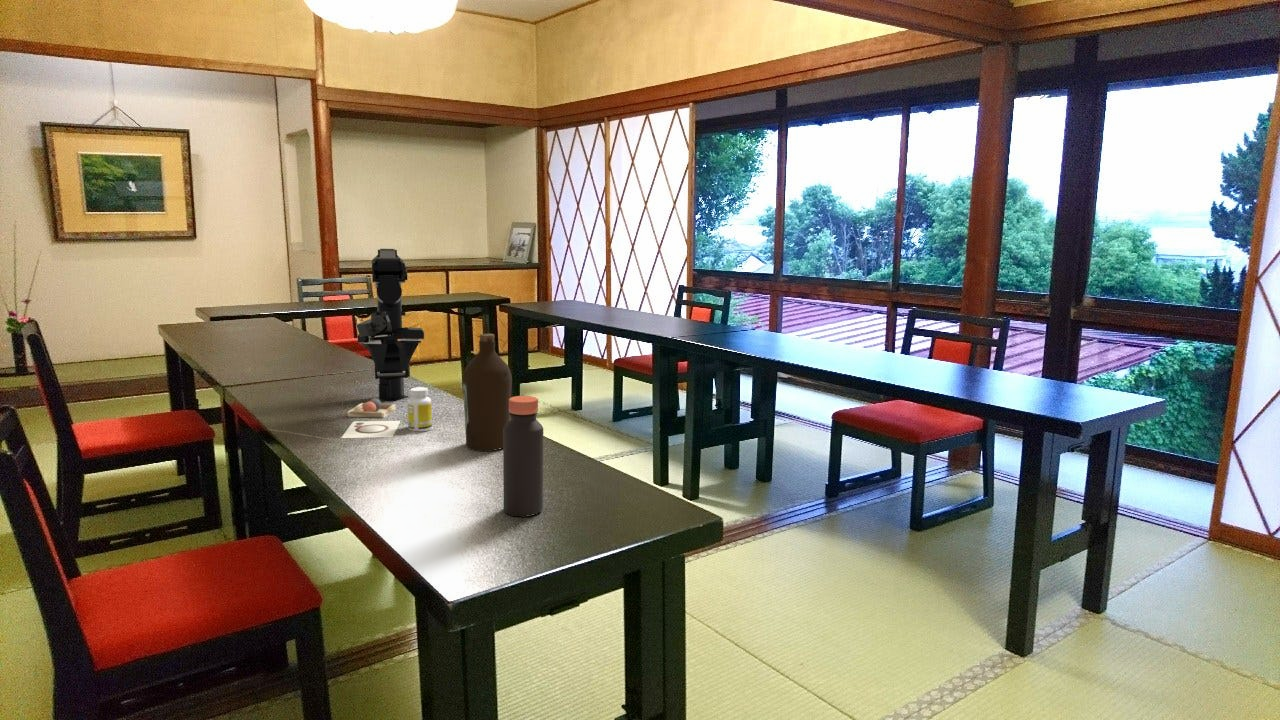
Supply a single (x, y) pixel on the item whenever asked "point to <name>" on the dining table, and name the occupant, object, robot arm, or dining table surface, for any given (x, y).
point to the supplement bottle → (419, 410)
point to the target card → (371, 429)
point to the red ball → (369, 407)
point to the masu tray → (379, 413)
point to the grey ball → (376, 403)
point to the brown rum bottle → (486, 397)
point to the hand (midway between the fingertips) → (391, 370)
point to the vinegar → (523, 458)
